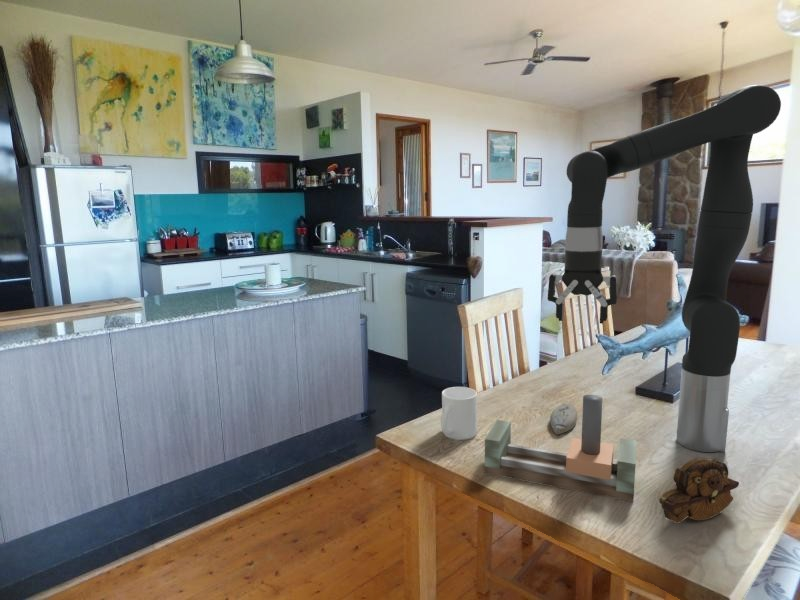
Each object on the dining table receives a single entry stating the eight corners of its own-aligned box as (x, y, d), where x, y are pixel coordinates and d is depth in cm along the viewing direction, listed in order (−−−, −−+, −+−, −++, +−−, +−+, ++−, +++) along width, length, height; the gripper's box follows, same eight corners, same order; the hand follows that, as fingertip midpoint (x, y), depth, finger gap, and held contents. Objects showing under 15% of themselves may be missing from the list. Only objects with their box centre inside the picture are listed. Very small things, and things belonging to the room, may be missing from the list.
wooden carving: (678, 537, 86) (683, 482, 84) (654, 522, 90) (658, 469, 88) (742, 510, 93) (747, 458, 91) (717, 497, 97) (722, 447, 95)
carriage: (613, 458, 106) (616, 392, 103) (610, 480, 98) (613, 409, 95) (571, 451, 109) (573, 387, 106) (565, 472, 101) (568, 403, 98)
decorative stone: (545, 435, 124) (545, 422, 124) (555, 411, 138) (555, 398, 137) (572, 439, 122) (572, 426, 121) (579, 414, 136) (579, 401, 135)
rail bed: (634, 475, 105) (636, 440, 104) (633, 501, 96) (635, 464, 95) (497, 451, 117) (497, 419, 115) (484, 472, 108) (484, 439, 106)
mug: (458, 450, 118) (457, 407, 116) (427, 441, 123) (426, 399, 121) (483, 431, 127) (483, 390, 125) (453, 423, 132) (453, 384, 130)
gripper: (620, 246, 113) (616, 320, 116) (552, 246, 119) (550, 315, 122) (618, 250, 106) (614, 328, 109) (546, 249, 112) (544, 323, 115)
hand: (580, 321), depth 116 cm, fingers open, 8 cm apart
